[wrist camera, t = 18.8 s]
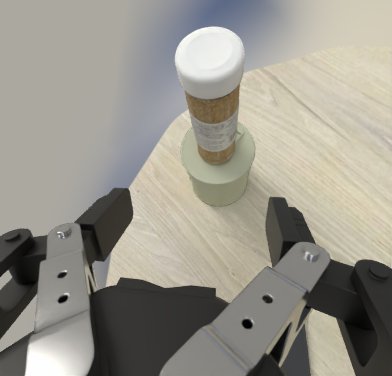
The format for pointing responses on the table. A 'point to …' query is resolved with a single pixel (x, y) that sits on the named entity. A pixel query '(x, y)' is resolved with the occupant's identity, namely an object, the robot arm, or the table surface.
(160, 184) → the table surface
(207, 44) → the sprinkles bottle
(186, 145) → the can
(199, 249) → the table surface
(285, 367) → the slate coaster
